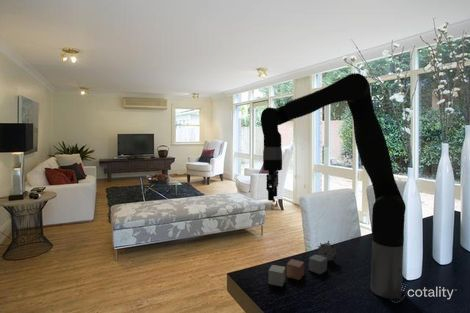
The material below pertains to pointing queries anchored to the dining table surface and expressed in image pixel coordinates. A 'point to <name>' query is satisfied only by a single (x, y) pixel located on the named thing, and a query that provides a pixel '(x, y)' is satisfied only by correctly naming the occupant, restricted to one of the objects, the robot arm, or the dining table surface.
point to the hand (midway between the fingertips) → (272, 198)
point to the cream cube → (277, 275)
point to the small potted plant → (327, 251)
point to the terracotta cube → (295, 269)
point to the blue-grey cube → (317, 264)
